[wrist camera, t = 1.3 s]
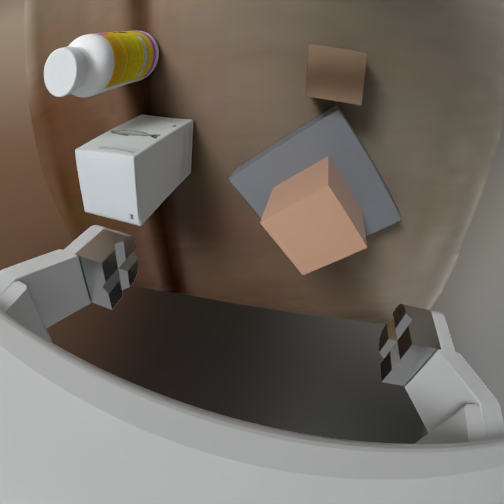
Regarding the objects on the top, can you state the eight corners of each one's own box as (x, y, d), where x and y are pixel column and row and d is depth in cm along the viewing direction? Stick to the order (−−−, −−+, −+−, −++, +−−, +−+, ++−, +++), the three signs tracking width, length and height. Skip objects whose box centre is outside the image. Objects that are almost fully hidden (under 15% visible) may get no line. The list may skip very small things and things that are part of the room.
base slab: (337, 104, 27) (338, 109, 25) (397, 206, 33) (401, 219, 30) (235, 169, 35) (228, 179, 32) (301, 251, 40) (299, 266, 38)
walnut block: (311, 45, 24) (308, 43, 20) (360, 53, 23) (367, 53, 19) (307, 90, 27) (305, 96, 23) (355, 97, 26) (361, 105, 23)
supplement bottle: (154, 22, 25) (76, 24, 15) (167, 71, 28) (93, 91, 19) (110, 43, 27) (31, 58, 17) (122, 87, 30) (48, 117, 21)
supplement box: (195, 118, 32) (136, 156, 22) (191, 174, 36) (141, 229, 27) (141, 112, 32) (72, 148, 23) (141, 164, 37) (83, 214, 27)
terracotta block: (328, 156, 28) (328, 185, 23) (361, 208, 31) (367, 247, 25) (272, 188, 32) (259, 222, 27) (308, 234, 34) (302, 275, 29)
